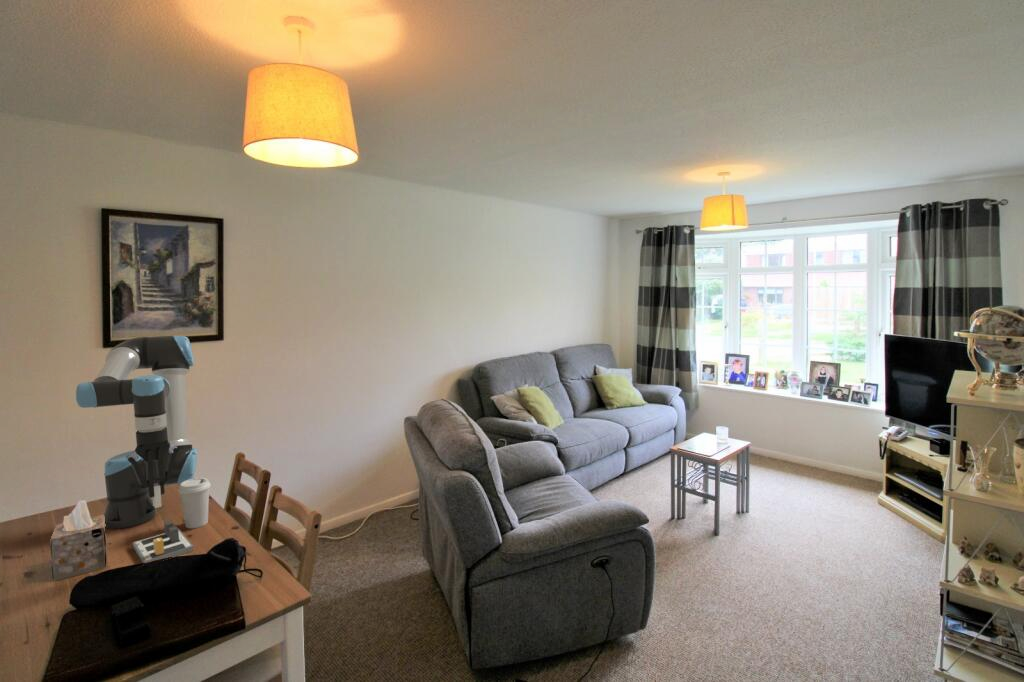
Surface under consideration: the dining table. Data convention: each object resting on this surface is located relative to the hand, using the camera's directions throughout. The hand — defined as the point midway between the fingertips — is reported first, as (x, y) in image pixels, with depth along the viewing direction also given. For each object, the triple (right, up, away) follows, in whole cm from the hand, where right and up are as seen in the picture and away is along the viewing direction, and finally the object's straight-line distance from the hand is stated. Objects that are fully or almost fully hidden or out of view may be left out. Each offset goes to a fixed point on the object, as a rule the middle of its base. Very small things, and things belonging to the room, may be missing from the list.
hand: (157, 505), depth 152 cm
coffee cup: (-3, -14, +24) cm, 28 cm away
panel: (-3, -16, +7) cm, 18 cm away
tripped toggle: (0, -14, +1) cm, 15 cm away
